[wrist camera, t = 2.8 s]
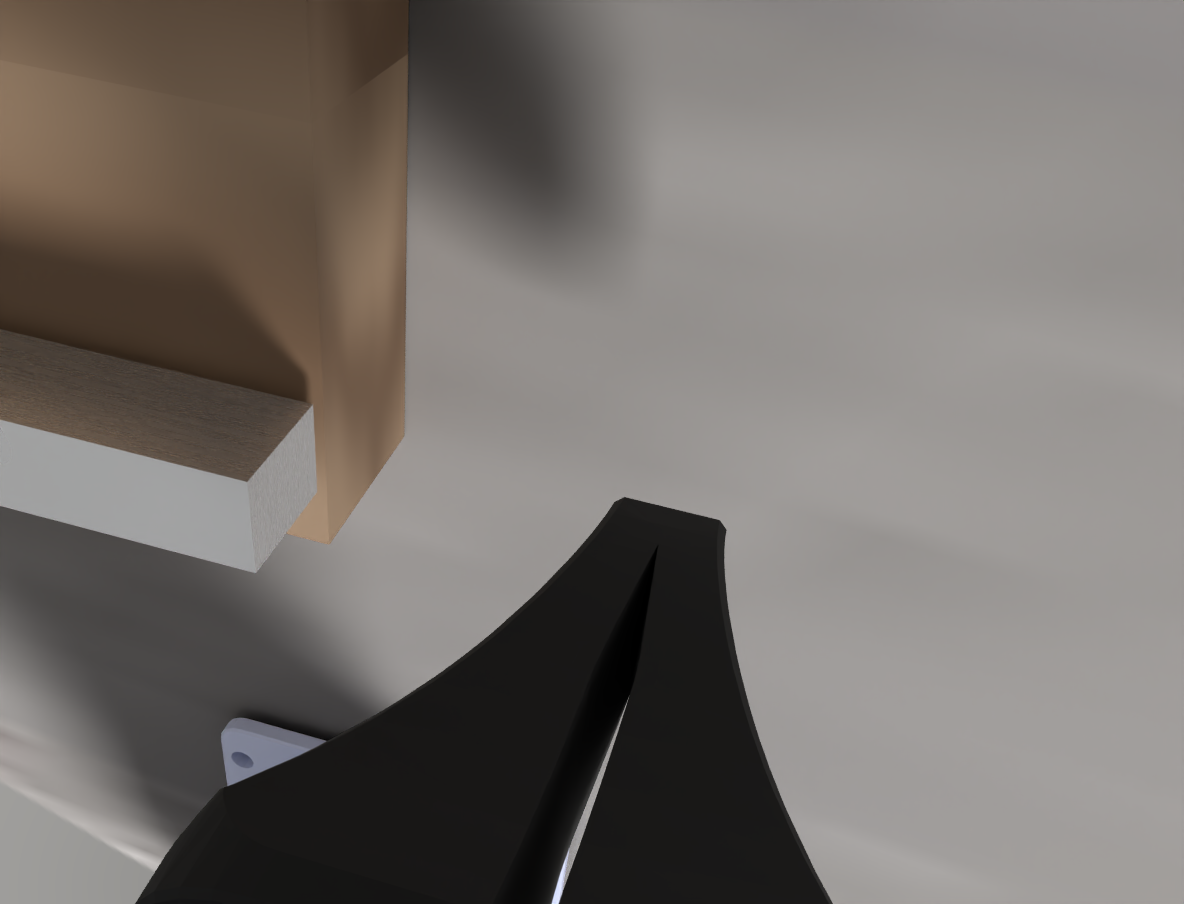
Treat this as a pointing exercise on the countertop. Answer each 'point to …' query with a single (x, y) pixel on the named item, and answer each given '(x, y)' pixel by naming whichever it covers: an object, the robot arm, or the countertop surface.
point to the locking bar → (151, 452)
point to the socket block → (218, 203)
